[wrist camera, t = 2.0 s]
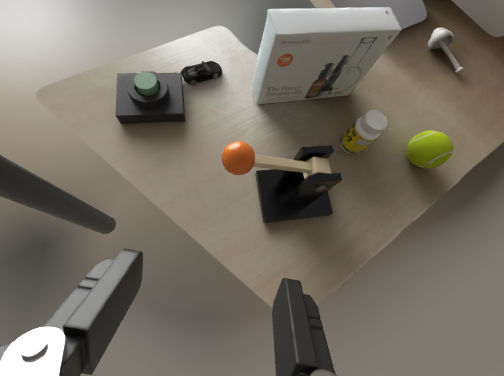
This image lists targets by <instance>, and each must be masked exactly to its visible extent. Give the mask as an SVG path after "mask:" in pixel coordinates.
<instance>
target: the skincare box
mask: <svg viewBox="0 0 504 376" xmlns="http://www.w3.org/2000/svg"><path fill="white" fill-rule="evenodd" d="M400 31H401V27H400V25H399V23H398V21H397V19H396V17H395V15H394V13H393V11H392V9H391V8H390V7H382V8H379V7H377V8H376V7H375V8H315V9H313V8H312V9H311V8H310V9H268V12H267V20H266V24H265V28H264V33H263V38H262V43H261V45H260V49H259V54H258V58H257V64H256V69H255V73H254V78H253V81H252V90H253V94H254V97H255V101H256V104H268V103H278V102H288V101H298V100H309V99H318V98H328V97H338V96H348V95H350V93H351V92H352V91H353V90H354V88H355V87H356V86H357V85H358V83H359V82H360V81H361V79H362V78H363V77H364V76H365V74H366V73H367V72H368V71H369V69H370V68H371V67H372V66H373V64H374V63H375V62H376V61H377V59H378V58H379V57H380V56H381V54H382V53H383V52H384V51H385V49H386V48H387V47H388V46H389V44H390V43H391V42H392V41H393V39H394V38H395V37H396V36H397V35H398V33H399V32H400Z"/></svg>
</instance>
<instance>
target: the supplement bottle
mask: <svg viewBox="0 0 504 376" xmlns="http://www.w3.org/2000/svg"><path fill="white" fill-rule="evenodd" d="M386 126H387V118H386V117H385V115H384V114H383V113H382V112H380V111H378V110H370V111H368V112H367V113H366V114H365V115H363V116H362V117H360V118H358V119H357V120H356V121H355V123H354V124H353V125H352V126H351V127H350V128H349V129H348V130H347V131H346V132H345V134H344V135H343V136H342V137H341V140H340V144H341V147H342V149H343V150H344V151H345V152H347V153H349V154H358V153H360V152H361V151H362V150H364V149H365V148H366V147H367V146H368V145H370V144H371V143H372V142H373V141H374V140H375V139H377V138H378V137H379V135H380V134H381V132H382V131H383V130H384V129H385V128H386Z"/></svg>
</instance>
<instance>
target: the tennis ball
mask: <svg viewBox="0 0 504 376" xmlns="http://www.w3.org/2000/svg"><path fill="white" fill-rule="evenodd" d="M452 151H453V146H452V142H451V140H450V139H449V138H448V137H447V136H446V135H445V134H443V133H441V132H437V131H426V132H422V133H420V134H418V135H416V136H415V137H414V138H412V139H411V141H410V142H409V144H408V146H407V157H408V159H409V160H410V162H411V163H412V164H414V165H415V166H417V167H420V168H435V167H438V166H440V165H442V164H443V163H445V162H446V161H447V160H448V159H449V158H450V156H451V154H452Z"/></svg>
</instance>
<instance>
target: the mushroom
mask: <svg viewBox="0 0 504 376" xmlns="http://www.w3.org/2000/svg"><path fill="white" fill-rule="evenodd" d="M452 41H453V34H452V32H450V31H449V30H446V29H444V28H437V29H435V31H434V32H433V34H432V35H431V39H430V40H429V42H428V47H429V48H430V49H438V48H441V47H442V49H443V50H444V52H445V53H446V54H447V56H448V57H449V59H450V60H451V62H452V64H453V65H454V67H455V69H456V70H455V73H458V72H460V71H462V70H463V69H464V68H462V67H460V65H459V64H458V62H457V61H456V59H455V58H454V56H453V54H452V53H451V52H450V50H449V44H450V43H451V42H452Z"/></svg>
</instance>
